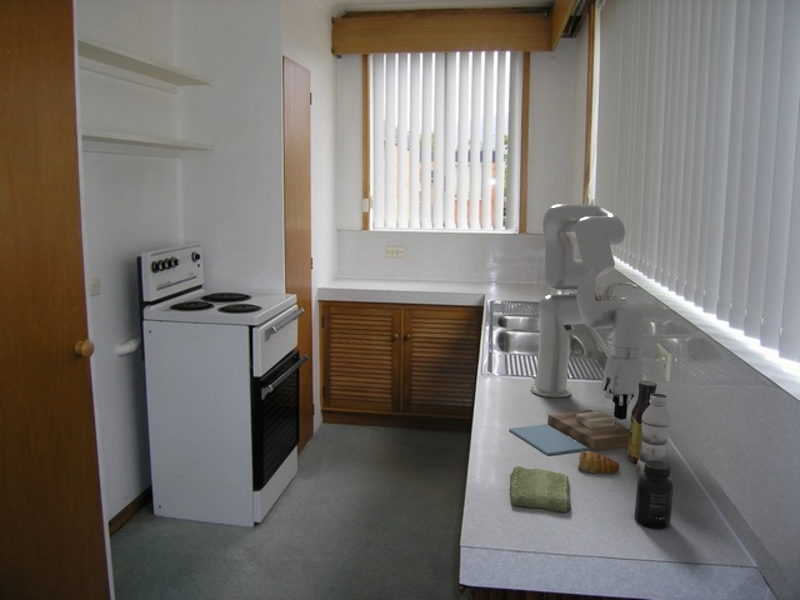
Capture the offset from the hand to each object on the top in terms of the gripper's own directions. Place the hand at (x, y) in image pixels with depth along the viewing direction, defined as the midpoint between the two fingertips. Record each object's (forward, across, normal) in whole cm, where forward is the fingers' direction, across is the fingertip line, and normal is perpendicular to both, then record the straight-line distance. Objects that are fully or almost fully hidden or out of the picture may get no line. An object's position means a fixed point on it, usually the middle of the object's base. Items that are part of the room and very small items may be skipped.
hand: (619, 417), depth 192 cm
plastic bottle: (+4, +15, +29) cm, 33 cm away
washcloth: (+4, +43, +26) cm, 51 cm away
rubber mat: (+4, +23, 0) cm, 23 cm away
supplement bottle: (+4, +29, +45) cm, 54 cm away
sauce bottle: (+4, +9, +19) cm, 22 cm away
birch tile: (+1, +8, 0) cm, 8 cm away
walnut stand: (+4, +9, 0) cm, 10 cm away
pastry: (+4, +23, +19) cm, 30 cm away
